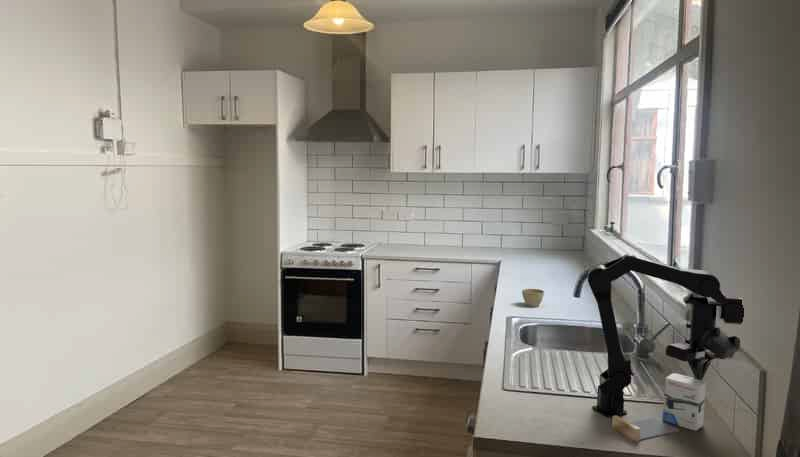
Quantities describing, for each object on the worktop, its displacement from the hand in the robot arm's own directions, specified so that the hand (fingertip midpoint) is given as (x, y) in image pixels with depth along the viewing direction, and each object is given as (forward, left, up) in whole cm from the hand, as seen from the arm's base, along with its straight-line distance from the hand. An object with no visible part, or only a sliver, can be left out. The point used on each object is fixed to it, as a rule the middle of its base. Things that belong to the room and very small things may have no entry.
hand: (698, 381), depth 152 cm
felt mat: (-2, -15, -11) cm, 18 cm away
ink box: (-1, -4, -11) cm, 12 cm away
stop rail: (-2, -22, -11) cm, 24 cm away
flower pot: (-120, +36, -11) cm, 126 cm away
